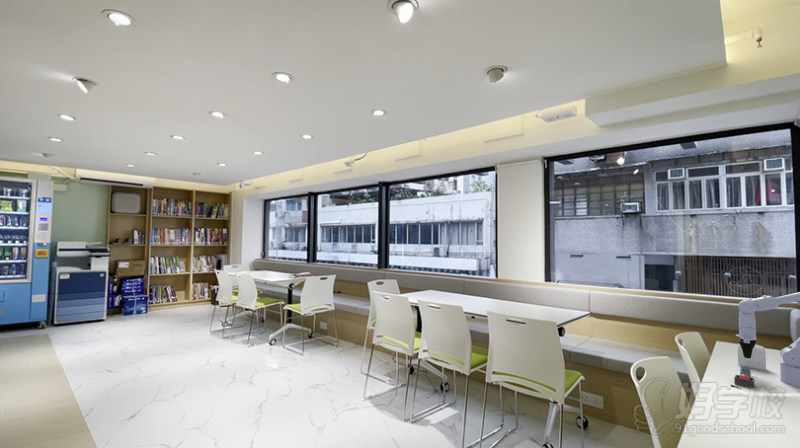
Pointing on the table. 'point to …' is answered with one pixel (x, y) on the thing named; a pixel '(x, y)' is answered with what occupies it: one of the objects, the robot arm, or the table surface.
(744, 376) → the dome
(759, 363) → the photo printer
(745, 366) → the pawn
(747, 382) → the game board
